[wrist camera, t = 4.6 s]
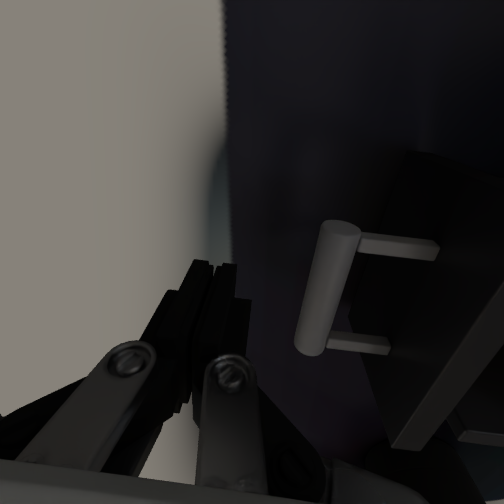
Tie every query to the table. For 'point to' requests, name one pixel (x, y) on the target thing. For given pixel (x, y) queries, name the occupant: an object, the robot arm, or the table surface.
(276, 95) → the table surface
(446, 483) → the pen holder
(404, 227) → the panel with bar handle
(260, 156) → the table surface
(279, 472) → the robot arm
